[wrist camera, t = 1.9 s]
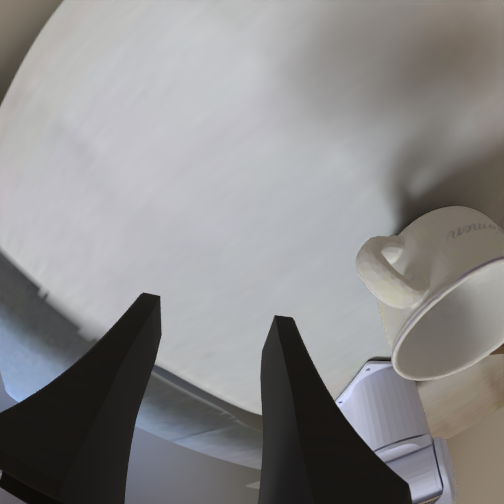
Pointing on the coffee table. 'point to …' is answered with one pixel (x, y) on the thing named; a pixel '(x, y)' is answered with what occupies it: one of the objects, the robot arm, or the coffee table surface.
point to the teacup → (438, 291)
